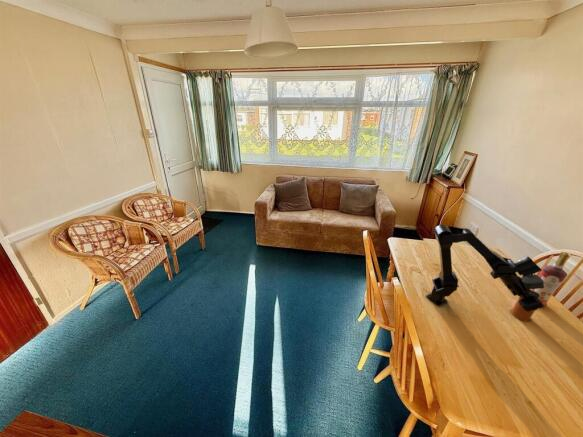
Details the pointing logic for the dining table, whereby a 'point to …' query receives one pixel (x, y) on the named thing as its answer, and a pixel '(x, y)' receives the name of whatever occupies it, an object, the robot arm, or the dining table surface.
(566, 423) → the dining table surface
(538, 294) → the cap
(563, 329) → the dining table surface
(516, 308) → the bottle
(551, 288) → the liquor
